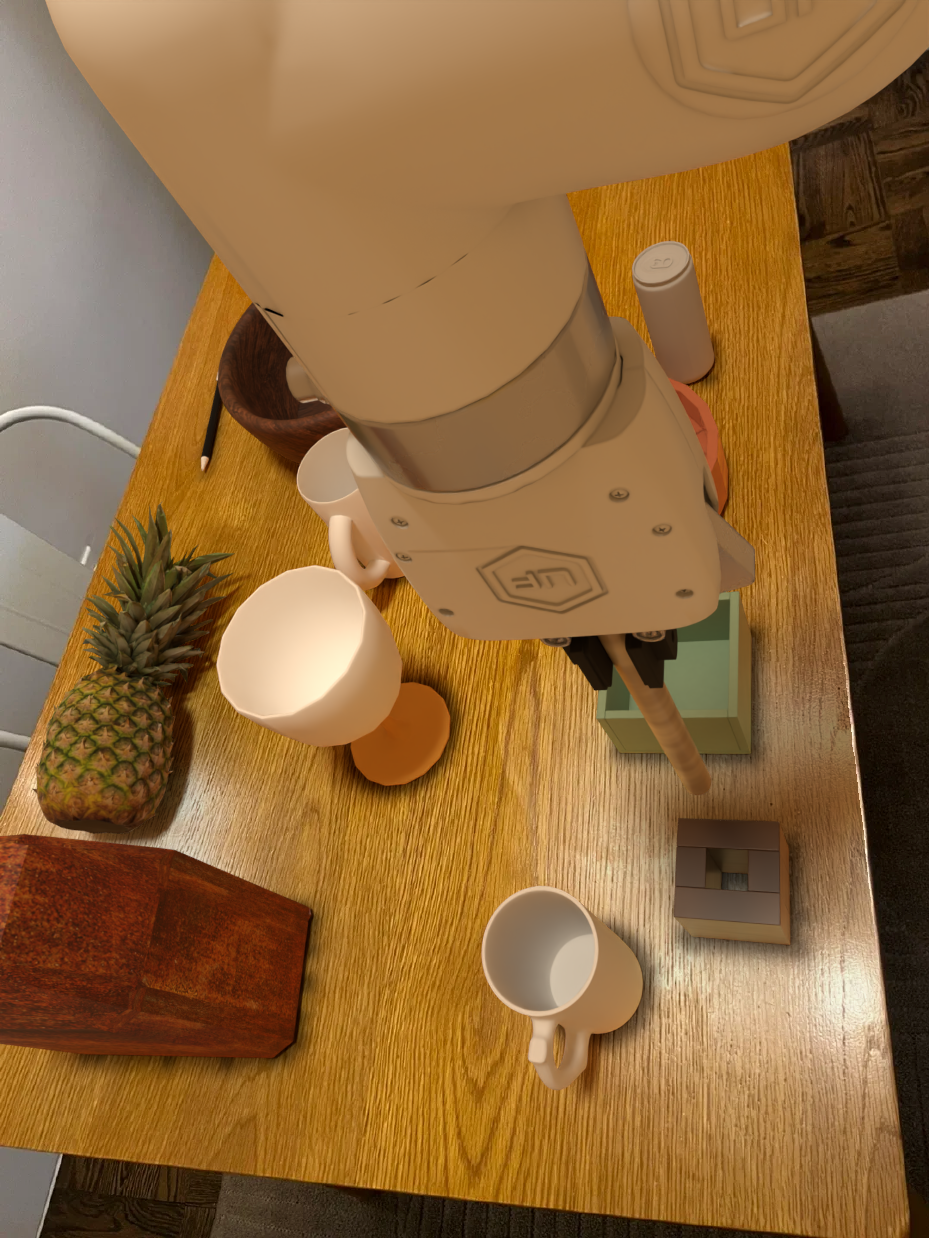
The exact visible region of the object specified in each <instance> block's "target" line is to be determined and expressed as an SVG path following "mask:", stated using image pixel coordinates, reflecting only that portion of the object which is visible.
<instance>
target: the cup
mask: <svg viewBox="0 0 929 1238" xmlns="http://www.w3.org/2000/svg"><path fill="white" fill-rule="evenodd" d="M402 670H403V660H402V657H401V654H400V652H399V649H398V646H397V643H396V640H395V637H394V635H393V632H392V629H391V627H390V625H389V623H388V622H387V621H386V620H385V617H384V616H383V614H382V613H381V612H380V610H379V609H378V607H377V606H376V604H375V603H374V602H373V601H372V600H371V598H370V597H369V596H368V595H367V594H366V592H365V591H363V590H362V589H361V588H360V587H359V586H358V585H357V584H356V583H355V582H354V581H353V580H351V579H350V578H349V577H348V576H347V575H346V574H345V573H344V572H342V571H341V570H336V568H331V567H327V566H322V565H317V564H313V565H309V566H304V567H303V566H302V567H299V568H294V569H289V570H286V571H284V572H282V573H280V574H279V575H277V576H275V577H274V578H271V579H269V580H268V581H266V582H264V583H263V584H261V585H259V587H257V588H256V590H255V591H253V593H251V595H250V596H248V598H247V599H246V600H244V602H242V603H241V605H240V606H239V607H238V608H237V609H236V610H235V613H234V615H233V616H232V618H231V620H230V622H229V623H228V625H227V627H226V629H225V631H224V632H223V634H222V635H221V641H220V645H219V651H218V655H217V661H216V671H217V676H218V681H219V687H220V691H221V694H222V696H223V697H224V698H225V699H226V700H227V701H228V703H229V704H230V705H231V706H232V708H233V709H234V710H235V711H236V712H237V713H238V714H239V715H241V716H243V717H244V718H246V719H248V720H250V721H251V722H253V723H254V724H257V725H258V726H260V727H262V728H264V729H267V730H268V731H271V732H274V733H276V734H278V735H281V736H283V737H285V738H288V739H290V740H294V741H297V742H300V743H301V744H304V745H308V746H314V747H319V748H326V747H332V746H333V747H334V746H335V747H336V746H344V745H347V744H350V752H351V755H352V758H353V761H354V766H355V767H356V768H357V769H358V770H359V772H360V773H361V774H362V775H363V776H364V777H365V778H366V779H367V780H368V781H370V782H374V783H376V784H379V785H381V786H385V787H390V786H399V785H407V784H408V783H411V782H412V781H414V780H417V779H418V778H420V777H423V776H424V775H426V773H428V771H429V770H430V769H431V768H432V767H433V766H434V765H435V764H436V763H437V762H438V761H439V760H440V759H441V757H442V755H443V753H444V751H445V748H446V747H447V745H448V741H449V740H450V735H451V733H450V732H451V713H450V711H449V709H448V705H447V703H446V701H445V698H443V697H442V696H441V695H440V694H439V693H438V692H437V691H435V689H434V688H432V687H431V686H430V685H426V684H421V683H419V682H416V681H410V682H402ZM401 682H402V683H401Z"/></svg>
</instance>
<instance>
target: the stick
mask: <svg viewBox="0 0 929 1238" xmlns="http://www.w3.org/2000/svg"><path fill="white" fill-rule="evenodd" d="M597 636H598V638H599V640H600V642H601V643H602V645H603V647H604V649H605V650H606V652H607V654H608V656H609V657H610V659H611V661H612V662H613V664H614V666H615V668H616V669H617V671H618V673H619V675H620V676H621V678H622V680H623V681H624V683H625V685H626V687H627V688H628V690H629V692H630V694H631V695H632V697H633V699H634V701H635V702H636V704H637V706H638V707H639V709H640V711H641V713H642V714H643V716H644V718H645V720H646V721H647V723H648V725H649V727H650V728H651V730H652V732H653V733H654V735H655V737H656V739H657V740H658V742H659V744H660V746H661V747H662V749H663V751H664V753H663V754H664V755H665V756H666V758H667V760H668V761H669V764H670V765H671V766H672V769H673V770H674V772H675V773H676V775H677V777H678V778H679V781H680V782H681V784H682V785H683V787H684V789H685V790H686V792H687V793H689V794H690V795H692V796H704V795H705V794H707V793H708V792H709V791H710V789H711V788H712V785H713V780H712V776H711V774H710V772H709V770H708V768H707V766H706V764H705V762H704V760H703V758H702V755H701V754H699V752H698V750H697V748H696V746H695V743H694V741H693V739H692V737H691V735H690V733H689V731H688V729H687V727H686V725H685V723H684V721H683V719H682V717H681V715H680V713H679V711H678V709H677V707H676V705H675V703H674V701H673V699H672V697H671V695H670V693H669V691H668V689H667V687H666V685H665V682H664V685H663V688H651V689H650V688H649V686H648V685H646V686H645V685H644V683H643V681H642V679H641V678H640V676H639V674H638V672H637V670H636V668H635V666H634V665H633V663H632V661H631V659H630V657H629V655H628V654H627V652H626V649H625V633H621V634H608V635H597Z"/></svg>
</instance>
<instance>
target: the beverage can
mask: <svg viewBox="0 0 929 1238" xmlns="http://www.w3.org/2000/svg"><path fill="white" fill-rule="evenodd" d="M631 272H632V277H631V278H632V281H633V286H634V288H635V292H636V296H637V298H638V302H639V305H640V308H641V312H642V315H643V318H644V322H645V326H646V329H647V332H648V335H649V339H650V341H651V345H652V348H653V353H654V356H655V358H656V359H657V361H658V362H659V364H660V365H661V367H662V369H663V370H664V372H665V373H666V375H667V377H668V378H670V379H673V380H675V381H678V382H680V383H683V384H685V385H687V384H692V383H695V382H697V381H699V380H701V379H703V377H705V376H706V375H707V374H708V372H709V371H710V370H711V369H712V367H713V365H714V362H715V353H714V348H713V344H712V339H711V335H710V330H709V325H708V321H707V316H706V313H705V308H704V304H703V300H702V294H701V290H700V286H699V282H698V277H697V272H696V269H695V264H694V260H693V257H692V255H691V253H690V251H689V249H688V247H687V246H686V245H685V244H684V243H682V242H679V241H675V240H666V241H661V242H657V243H653V244H652V245H649V246H647V248H645V249H644V250H642V251H641V252H640V253H639V254H638V255H637V256H636V257H635V259H634V261H633V263H632V266H631Z"/></svg>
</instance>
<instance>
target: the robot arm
mask: <svg viewBox="0 0 929 1238" xmlns="http://www.w3.org/2000/svg"><path fill="white" fill-rule="evenodd" d="M44 1H45V3H46V4H45V5H46V7H47V10H48V13H49V16H50V19H51V22H52V25H53V26H54V29H55V31H56V33H57V35H58V37H59V39H60V42H61V44H62V46H63V49H64V50H65V52H66V53H67V55H68V56H69V57H70V59H71V61H72V63H74V65H75V66H76V68H77V69H78V71H79V73H80V74H81V75H82V77H83V78H84V79H85V81H86V82H87V84H88V85H89V87H90V88H91V90H92V91H93V93H94V94H95V96H96V97H97V99H98V100H99V101H100V102H101V104H102V105H103V107H104V108H105V109H106V110H107V112H108V113H109V114H110V116H111V117H112V118H113V120H114V122H116V124H117V125H118V126H119V128H120V129H121V130H122V132H124V134H125V136H126V137H127V138H128V139H129V141H130V143H132V144H133V146H134V148H135V149H136V150H137V151H138V153H139V155H140V156H141V157H142V158H143V159H144V161H145V162H146V163H147V164H148V166H149V167H150V169H151V170H152V171H153V172H154V174H155V175H156V177H157V178H158V180H159V181H160V182H161V183H162V184H163V186H164V187H165V189H166V191H168V192H169V194H170V195H171V196H172V197H173V199H174V200H175V202H176V203H177V204H178V206H179V207H180V208H181V210H182V211H183V212H184V214H185V215H186V216H187V217H188V219H189V220H190V222H191V223H192V224H193V226H194V227H195V228H196V229H197V230H198V232H199V234H200V235H201V236H202V237H203V238H204V240H205V241H206V243H207V244H208V245H209V247H210V248H211V250H212V251H213V252H214V253H215V254H216V256H217V257H218V258H219V261H221V263H222V264H223V265H224V266H225V268H226V269H227V271H228V272H229V273H230V274H231V276H232V277H233V278H234V279H235V281H236V282H237V283H238V285H239V286H240V287H241V289H242V290H243V292H244V293H245V294H246V296H247V297H248V299H250V301H251V303H252V302H253V303H254V305H255V306H256V307H257V309H258V310H259V311H260V313H261V314H262V315H263V317H264V318H265V319H266V321H267V322H268V323H269V324H270V326H271V327H272V328H273V330H274V331H275V332H276V334H277V335H278V336H279V338H280V339H281V340H282V342H283V343H284V344H285V346H286V347H287V348H288V350H289V351H290V352H291V354H292V355H293V356H294V357H291V358H290V359H289V361H288V362H287V367H286V379H287V383H288V386H289V389H290V391H291V393H292V395H293V396H294V397H295V398H296V400H297V401H299V402H301V403H306V402H311V401H316V400H319V401H321V402H322V403H326V404H330V405H331V407H332V408H333V409H334V411H335V412H336V413H337V414H338V416H339V417H340V418H341V420H342V421H343V422H344V424H345V425H346V426H347V428H348V429H349V430H350V432H349V436H348V440H347V446H346V455H347V460H348V463H349V465H350V468H351V471H352V473H353V476H354V479H355V481H356V484H357V486H358V489H359V492H360V494H361V496H362V498H363V501H364V503H365V505H366V507H367V510H368V512H369V514H370V517H371V519H372V521H373V523H374V525H375V527H376V529H377V531H378V533H379V534H380V536H381V538H382V540H383V542H384V544H385V545H386V547H387V549H388V550H389V552H390V554H391V555H392V557H393V559H394V560H395V562H396V563H397V565H398V566H399V568H400V569H401V571H402V572H403V574H404V575H405V576H404V577H405V578H406V580H407V581H408V582H409V584H410V585H411V587H412V589H413V590H414V591H415V592H416V593H417V595H418V596H419V598H420V599H421V601H422V602H423V603H424V604H425V605H426V607H427V608H428V609H429V611H430V612H431V613H432V614H433V615H434V616H435V618H436V620H438V621H439V622H440V623H441V624H442V625H443V627H445V628H446V629H447V630H448V631H450V632H452V633H453V634H455V635H457V636H458V637H461V638H465V639H469V640H475V641H489V642H492V641H493V642H494V641H498V642H499V641H521V640H538V639H539V641H540V642H541V643H542V644H543V645H545V646H548V647H552V648H561V649H562V650H563V651H564V653H565V654H566V656H567V657H568V659H569V661H570V662H571V663H572V664H573V665H574V666H577V667H578V669H580V672H581V673H582V674H583V676H584V677H585V679H586V680H587V682H588V684H589V685H590V686H591V688H592V690H593V691H597V692H599V690H607V689H608V687H611V686H612V677H613V662H612V661H611V659H610V657H609V656H608V654H607V652H606V650H605V649H604V647H603V645H602V643H601V642H600V640H599V638H598V636H597V635H608V634H621V633H625V649H626V652H627V654H628V655H629V657H630V659H631V661H632V663H633V665H634V666H635V668H636V670H637V672H638V674H639V676H640V678H641V679H642V681H643V683H644V685H645V686H646V685H648V686H649V688H650V689H651V688H663V685H664V660H676V659H677V650H678V636H677V628H681V627H685V626H688V625H691V624H694V623H697V622H699V621H701V620H703V619H705V618H707V617H708V616H710V615H711V614H712V613H713V612H714V611H715V610H716V609H717V606H718V601H719V594H720V593H724V592H732V591H734V590H738V589H742V588H745V587H748V586H751V585H753V584H754V583H755V581H756V549H755V547H754V546H753V545H752V544H751V543H750V542H749V541H748V540H747V539H746V538H745V537H744V536H743V535H742V534H740V533H739V532H738V531H737V529H735V528H734V526H732V525H731V524H730V522H728V521H727V520H726V519H725V518H724V517H723V516H721V514H720V515H719V514H718V510H719V504H718V496H717V491H716V487H715V484H714V480H713V477H712V474H711V471H710V468H709V465H708V462H707V460H706V457H705V455H704V452H703V450H702V447H701V444H700V442H699V440H698V438H697V435H696V433H695V431H694V428H693V426H692V424H691V421H690V419H689V417H688V415H687V413H686V411H685V409H684V407H683V405H682V403H681V401H680V399H679V397H678V395H677V393H676V391H675V389H674V387H673V386H672V384H671V382H670V380H669V379H668V377H667V375H666V373H665V372H664V370H663V369H662V367H661V365H660V364H659V362H658V361H657V359H656V355H655V354H654V352H652V350H651V349H650V347H649V346H648V344H647V343H646V342H645V340H644V339H643V337H642V336H641V335H640V334H639V332H638V331H637V329H636V328H635V327H634V326H633V324H632V323H631V322H630V321H629V320H628V319H627V318H624V317H622V316H609V314H608V312H607V309H606V306H605V303H604V300H603V297H602V294H601V291H600V289H599V286H598V283H597V280H596V276H595V274H594V271H593V268H592V266H591V262H590V260H589V257H588V254H587V251H586V248H585V246H584V242H583V238H582V236H581V233H580V230H579V227H578V224H577V222H576V218H575V216H574V212H573V210H572V206H571V204H570V200H569V198H568V196H567V194H569V193H574V192H579V191H585V190H590V189H595V188H600V187H605V186H611V185H617V184H622V183H628V182H634V181H640V180H645V179H651V178H656V177H662V176H666V175H667V176H668V175H672V174H677V173H678V174H679V173H682V172H688V171H692V170H697V169H700V168H705V167H710V166H714V165H717V164H722V163H726V162H730V161H733V160H737V159H741V158H744V157H747V156H750V155H753V154H757V153H760V152H763V151H766V150H769V149H771V148H775V147H777V146H781V145H783V144H786V143H788V142H791V141H793V140H796V139H798V138H800V137H802V136H805V135H806V134H808V133H811V132H812V131H815V130H817V129H819V128H821V127H823V126H825V125H827V124H829V123H830V122H833V121H834V120H836V119H838V118H840V117H842V116H844V115H846V114H848V113H850V112H851V111H853V110H854V109H856V108H858V107H859V106H860V105H862V104H863V103H866V101H868V100H870V99H871V98H872V97H874V96H875V95H877V94H878V93H879V92H881V91H882V90H883V89H884V88H886V87H887V86H889V85H890V84H891V83H892V82H894V81H895V79H897V78H898V77H899V76H900V75H902V74H903V73H904V72H905V71H906V70H908V69H909V68H910V67H912V65H914V63H915V62H916V61H917V60H918V59H919V58H920V57H921V56H922V55H923V54H924V53H925V52H926V51H927V50H928V49H929V0H44Z"/></svg>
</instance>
